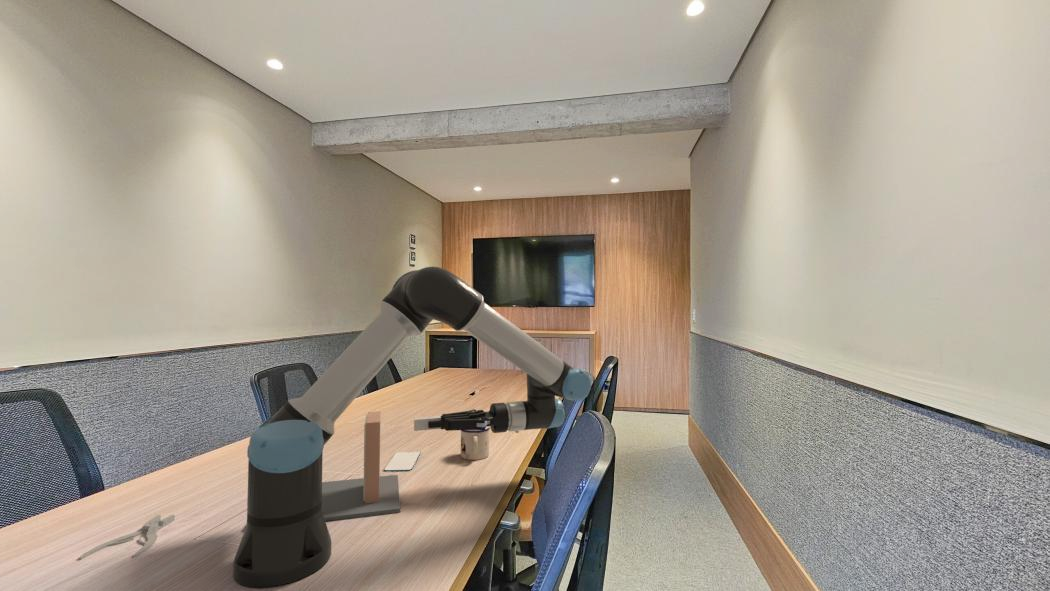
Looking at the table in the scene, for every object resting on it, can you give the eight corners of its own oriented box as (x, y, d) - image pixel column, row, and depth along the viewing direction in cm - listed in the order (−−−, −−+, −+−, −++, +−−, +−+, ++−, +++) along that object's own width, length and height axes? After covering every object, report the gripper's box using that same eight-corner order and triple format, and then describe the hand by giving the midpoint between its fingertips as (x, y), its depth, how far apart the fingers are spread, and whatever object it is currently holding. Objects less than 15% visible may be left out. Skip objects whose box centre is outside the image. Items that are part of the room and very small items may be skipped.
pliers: (77, 552, 80) (141, 515, 95) (76, 561, 80) (141, 523, 95) (136, 550, 81) (191, 513, 96) (136, 559, 81) (190, 521, 96)
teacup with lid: (460, 452, 143) (460, 414, 143) (488, 450, 144) (489, 414, 145) (459, 464, 131) (459, 423, 132) (490, 463, 132) (491, 422, 133)
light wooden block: (379, 501, 103) (380, 422, 104) (363, 503, 102) (364, 423, 103) (379, 483, 114) (380, 411, 115) (365, 484, 113) (366, 412, 114)
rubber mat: (400, 512, 99) (400, 508, 99) (245, 531, 90) (245, 527, 90) (397, 477, 120) (397, 474, 120) (271, 490, 111) (271, 487, 111)
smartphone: (411, 473, 125) (421, 454, 141) (411, 469, 125) (421, 451, 141) (382, 473, 125) (395, 455, 141) (382, 470, 125) (395, 452, 141)
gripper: (513, 438, 112) (415, 447, 105) (500, 425, 125) (412, 433, 118) (512, 407, 113) (415, 415, 106) (500, 398, 125) (412, 404, 118)
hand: (414, 424), depth 112 cm, fingers closed
